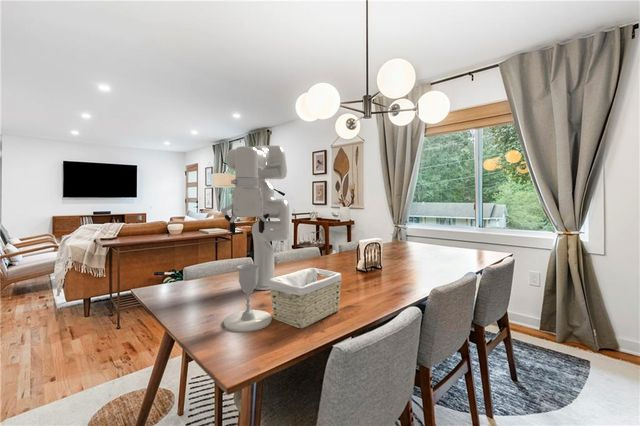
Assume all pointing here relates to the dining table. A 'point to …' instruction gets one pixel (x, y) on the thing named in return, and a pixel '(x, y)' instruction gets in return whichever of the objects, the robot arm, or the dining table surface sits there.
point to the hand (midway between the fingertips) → (247, 233)
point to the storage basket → (305, 296)
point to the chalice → (248, 287)
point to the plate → (238, 325)
